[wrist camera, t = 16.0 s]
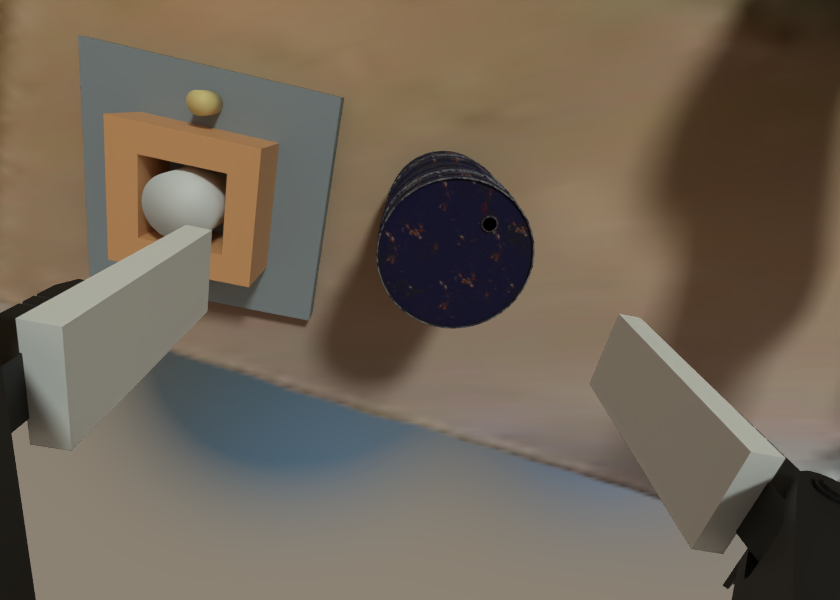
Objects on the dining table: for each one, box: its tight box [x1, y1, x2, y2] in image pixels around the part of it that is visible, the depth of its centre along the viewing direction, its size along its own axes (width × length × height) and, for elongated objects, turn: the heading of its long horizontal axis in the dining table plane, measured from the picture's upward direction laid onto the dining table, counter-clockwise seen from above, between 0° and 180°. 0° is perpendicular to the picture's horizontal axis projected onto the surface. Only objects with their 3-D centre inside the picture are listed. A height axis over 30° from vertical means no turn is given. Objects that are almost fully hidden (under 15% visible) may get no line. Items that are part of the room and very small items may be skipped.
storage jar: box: [377, 151, 534, 328], centre depth 36 cm, size 10×10×15 cm
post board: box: [78, 35, 344, 321], centre depth 39 cm, size 20×20×7 cm
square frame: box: [103, 112, 279, 287], centre depth 38 cm, size 11×11×5 cm
